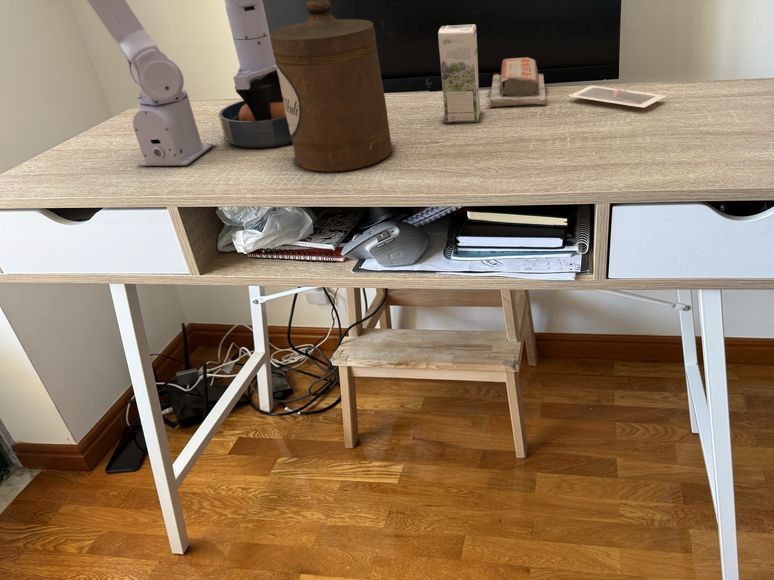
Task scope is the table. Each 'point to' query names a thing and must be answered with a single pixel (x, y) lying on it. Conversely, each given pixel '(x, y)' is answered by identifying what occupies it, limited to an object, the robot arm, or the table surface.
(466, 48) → the syrup box
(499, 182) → the table surface
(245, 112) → the bun
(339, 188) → the table surface
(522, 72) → the packaged product
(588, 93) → the touchpad
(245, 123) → the bowl
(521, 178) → the table surface
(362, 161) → the wooden container
